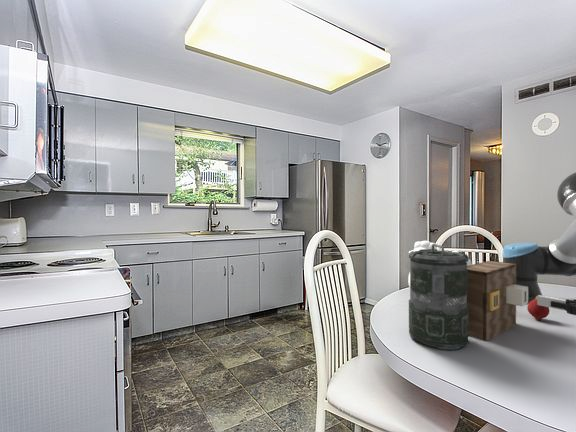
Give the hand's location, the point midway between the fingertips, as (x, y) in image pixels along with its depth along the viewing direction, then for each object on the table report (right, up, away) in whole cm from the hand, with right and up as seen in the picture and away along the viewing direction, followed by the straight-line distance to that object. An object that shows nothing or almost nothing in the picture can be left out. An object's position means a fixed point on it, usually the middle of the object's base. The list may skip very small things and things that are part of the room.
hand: (538, 299), depth 92 cm
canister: (-31, -11, -1) cm, 33 cm away
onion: (+11, -11, +13) cm, 20 cm away
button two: (-15, -3, +1) cm, 15 cm away
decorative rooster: (-12, -10, +35) cm, 38 cm away
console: (-11, -11, +6) cm, 17 cm away
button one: (-3, -2, +5) cm, 6 cm away
